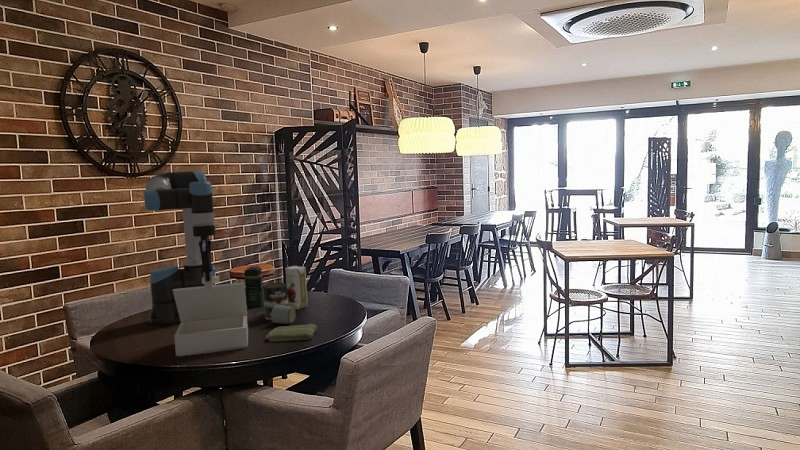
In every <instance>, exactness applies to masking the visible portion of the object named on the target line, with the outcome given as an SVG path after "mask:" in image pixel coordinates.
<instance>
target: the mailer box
mask: <svg viewBox="0 0 800 450" xmlns="http://www.w3.org/2000/svg"><path fill="white" fill-rule="evenodd" d="M179 323H180V324H179V326H178V328H177V330H176V332H175V334H174V336H173V338H174V347H175V357H176V356H179V357H185V355H187V356H192V355H193V356H194V354H195V355H202V353H203V354H210V353H218V352H224V351H226V352H227V351H235V350H241V349H243V350H244V349H248V347H249V325H248V314H245V315H236V316H226V317H217V318H208V319H199V320H190V321H181V322H179Z"/></svg>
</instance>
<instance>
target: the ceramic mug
mask: <svg viewBox="0 0 800 450" xmlns="http://www.w3.org/2000/svg"><path fill="white" fill-rule="evenodd" d="M296 313H297V312H296V309H294V308H293V307H291V306H283V305H275V306H274V307H273V309H272V313H271V318H272V320H271V321H272V323H274V324H285V325H289V324H293V323H294V322H295V319H296V317H297V316H296Z"/></svg>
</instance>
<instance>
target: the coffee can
mask: <svg viewBox="0 0 800 450" xmlns="http://www.w3.org/2000/svg"><path fill="white" fill-rule="evenodd" d="M263 298H264V303H263V305H264V307H263V308H264V319H266V320H268V321H272V318H271V313H272V309H273V307H274V306H275V305H283V306H288V297H287V284H286V283H285V282H271V283H270V282H269V283H266V284H264V285H263Z"/></svg>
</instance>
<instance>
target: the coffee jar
mask: <svg viewBox="0 0 800 450" xmlns="http://www.w3.org/2000/svg"><path fill="white" fill-rule="evenodd" d="M262 272H263V270H262V267H259V266H257V265H256V266H255V265H254V266H249V267H248V268H246V269H245V270H244V272H243V273H244V287H245V296H246V306H247V308H249V307H250V308H257V307H261V306H263V305H264V292H263V286H264V285H263V273H262Z"/></svg>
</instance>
